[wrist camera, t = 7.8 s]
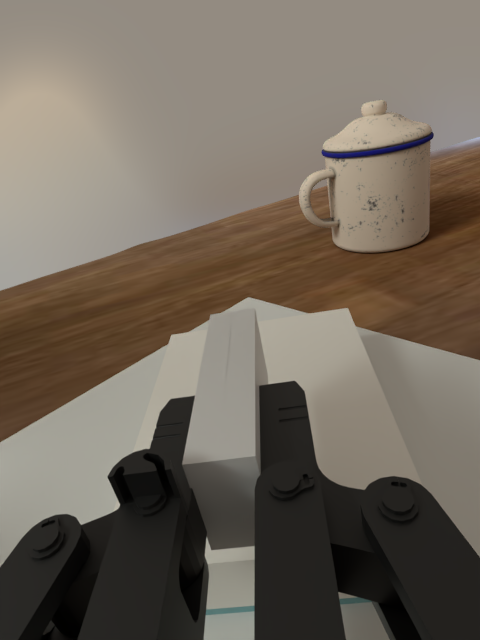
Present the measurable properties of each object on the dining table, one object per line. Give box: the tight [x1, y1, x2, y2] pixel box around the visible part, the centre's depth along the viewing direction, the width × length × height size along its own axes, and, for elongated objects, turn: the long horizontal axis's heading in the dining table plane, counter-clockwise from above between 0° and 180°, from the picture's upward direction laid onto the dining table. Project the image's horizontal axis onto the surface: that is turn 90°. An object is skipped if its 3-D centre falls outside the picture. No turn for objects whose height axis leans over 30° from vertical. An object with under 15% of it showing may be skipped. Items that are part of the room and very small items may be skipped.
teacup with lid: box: [299, 100, 433, 253], centre depth 39 cm, size 12×9×12 cm
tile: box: [113, 308, 423, 615], centre depth 19 cm, size 2×10×14 cm
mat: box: [0, 297, 480, 640], centre depth 19 cm, size 24×23×1 cm
